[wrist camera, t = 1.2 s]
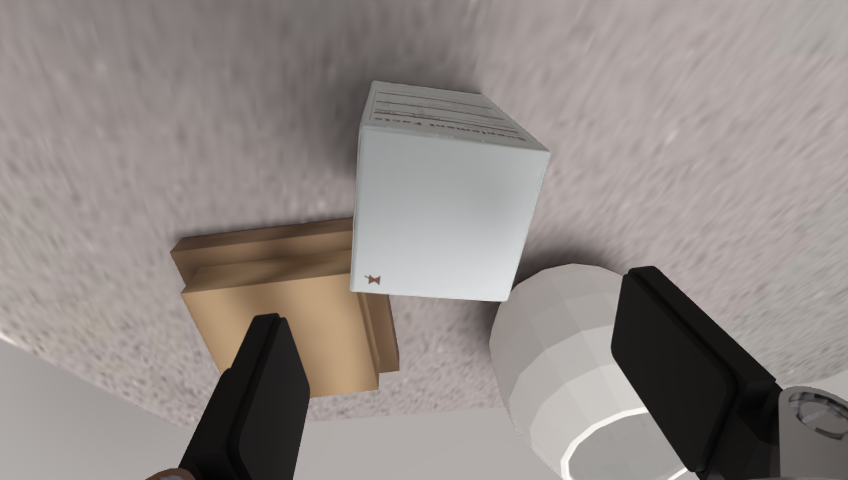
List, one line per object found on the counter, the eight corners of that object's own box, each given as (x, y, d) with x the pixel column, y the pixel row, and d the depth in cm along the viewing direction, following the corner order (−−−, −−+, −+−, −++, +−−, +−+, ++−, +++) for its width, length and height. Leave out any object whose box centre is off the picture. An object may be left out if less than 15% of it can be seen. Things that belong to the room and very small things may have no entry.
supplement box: (464, 197, 29) (508, 309, 18) (362, 186, 28) (343, 296, 17) (487, 92, 26) (559, 151, 15) (371, 74, 25) (354, 123, 14)
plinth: (374, 215, 29) (371, 250, 25) (399, 353, 36) (400, 399, 32) (183, 237, 29) (146, 277, 25) (244, 372, 36) (224, 421, 32)
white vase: (483, 247, 31) (537, 387, 20) (646, 239, 32) (793, 369, 20) (475, 367, 38) (513, 525, 26) (611, 358, 39) (707, 508, 27)
